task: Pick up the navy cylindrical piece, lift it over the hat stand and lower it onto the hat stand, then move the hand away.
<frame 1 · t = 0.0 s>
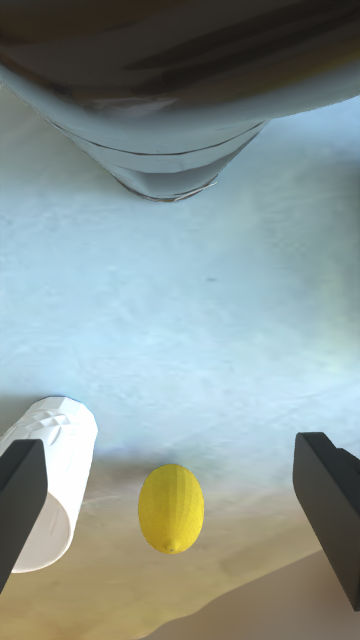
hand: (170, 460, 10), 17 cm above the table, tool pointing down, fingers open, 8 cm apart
white cup: (61, 426, 30), on the table
lemon: (171, 468, 31), on the table
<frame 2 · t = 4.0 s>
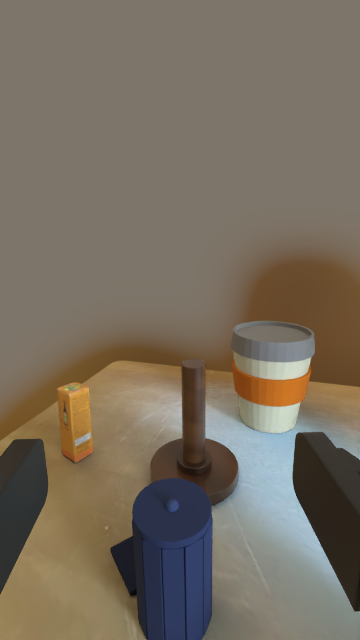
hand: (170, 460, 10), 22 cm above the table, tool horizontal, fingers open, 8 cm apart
reusable coffee cup: (267, 418, 54), on the table
hat stand: (194, 473, 41), on the table
supplement box: (79, 454, 46), on the table
navy cylindrical piece: (174, 607, 26), on the table
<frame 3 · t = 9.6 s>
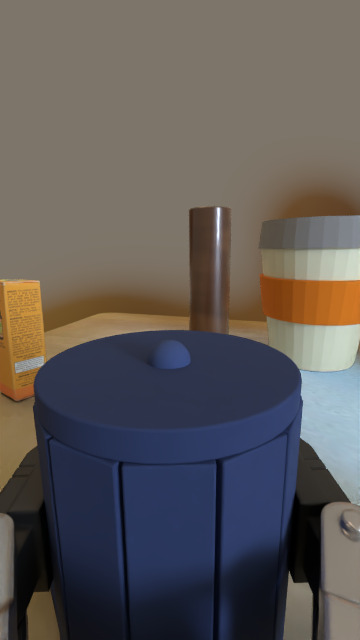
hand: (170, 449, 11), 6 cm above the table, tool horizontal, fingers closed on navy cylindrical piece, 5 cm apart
reusable coffee cup: (309, 358, 37), on the table
hat stand: (208, 414, 25), on the table
supplement box: (26, 393, 29), on the table
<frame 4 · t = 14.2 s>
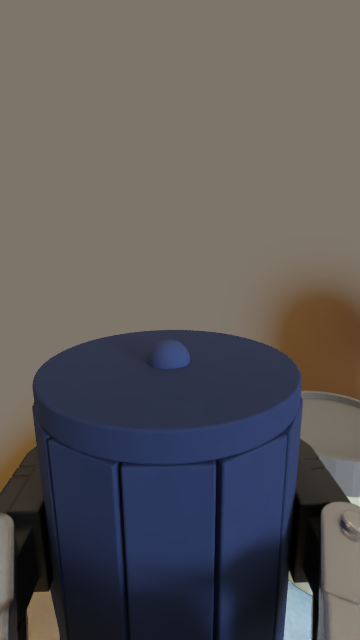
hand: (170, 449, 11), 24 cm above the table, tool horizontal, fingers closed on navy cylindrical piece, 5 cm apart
reusable coffee cup: (316, 555, 33), on the table
when the fingers open (12 cm above the table, at t = 19.0 s): navy cylindrical piece stays where it is, resting on hat stand.
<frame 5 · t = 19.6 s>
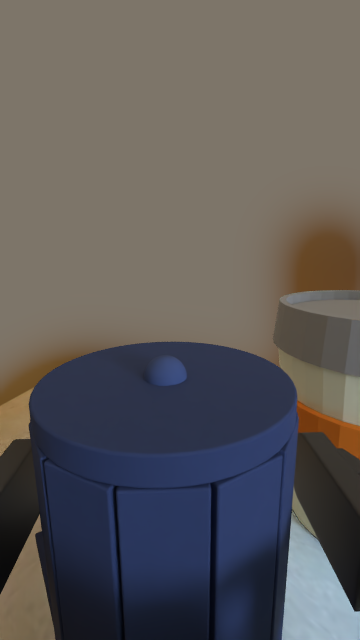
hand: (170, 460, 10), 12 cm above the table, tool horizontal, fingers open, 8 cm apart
reusable coffee cup: (353, 509, 23), on the table
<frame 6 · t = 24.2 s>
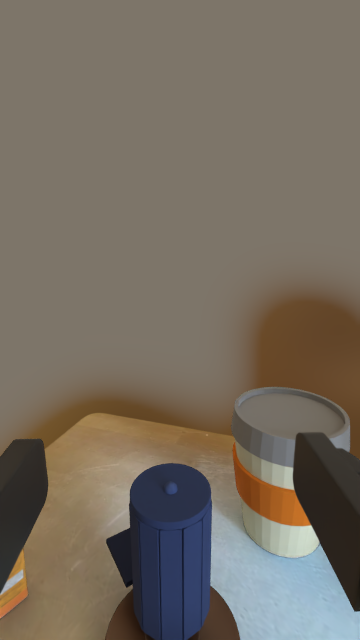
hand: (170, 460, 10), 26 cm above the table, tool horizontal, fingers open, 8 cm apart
reusable coffee cup: (280, 524, 39), on the table
supplement box: (6, 598, 31), on the table
navy cylindrical piece: (171, 599, 25), point 6 cm above the table, touching hat stand
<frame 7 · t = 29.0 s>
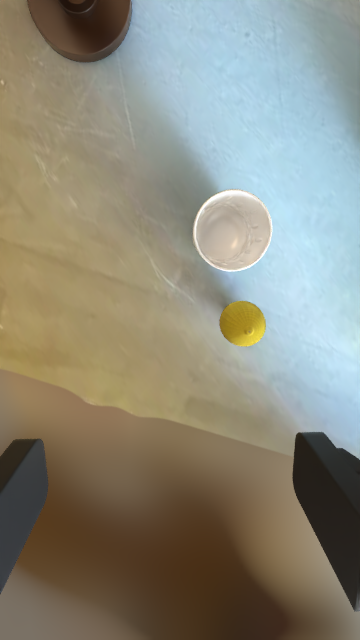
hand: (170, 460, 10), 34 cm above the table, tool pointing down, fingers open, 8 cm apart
hat stand: (82, 5, 36), on the table
white cup: (218, 234, 42), on the table
lemon: (235, 316, 45), on the table
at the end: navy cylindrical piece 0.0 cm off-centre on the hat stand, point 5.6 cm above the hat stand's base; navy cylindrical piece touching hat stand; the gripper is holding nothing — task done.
